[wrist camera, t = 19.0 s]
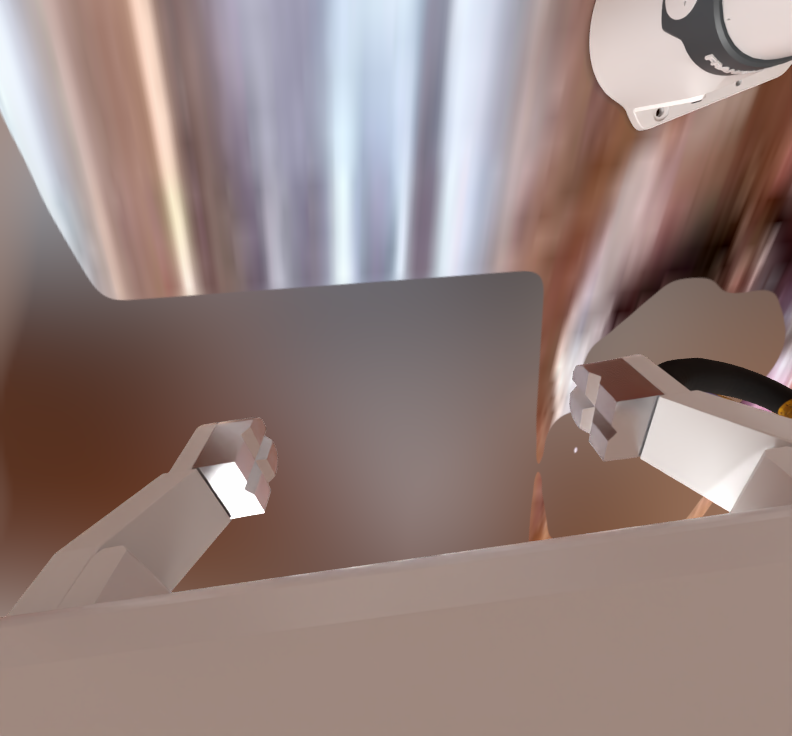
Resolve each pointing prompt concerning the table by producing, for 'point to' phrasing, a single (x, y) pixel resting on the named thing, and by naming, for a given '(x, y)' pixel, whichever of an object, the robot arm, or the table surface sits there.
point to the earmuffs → (731, 383)
